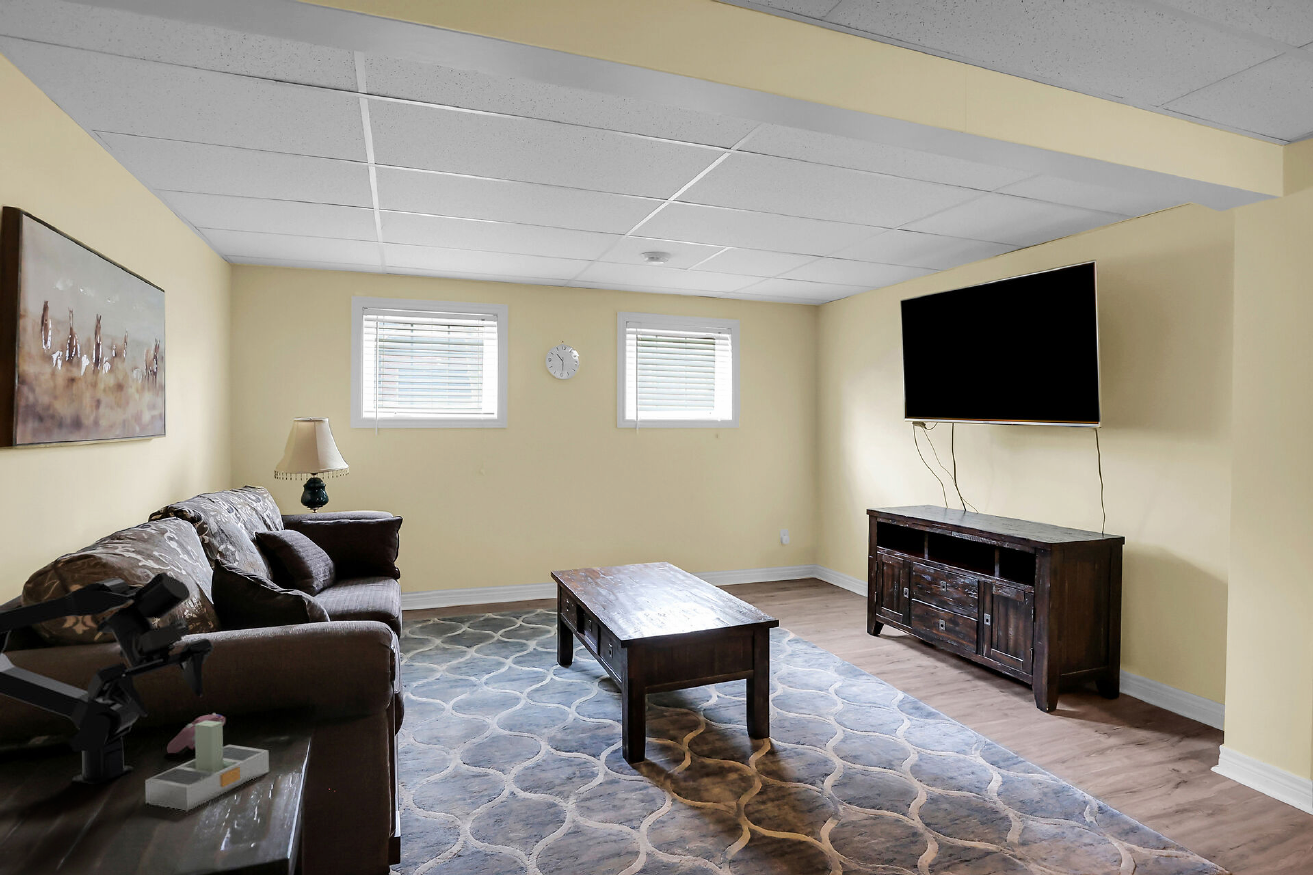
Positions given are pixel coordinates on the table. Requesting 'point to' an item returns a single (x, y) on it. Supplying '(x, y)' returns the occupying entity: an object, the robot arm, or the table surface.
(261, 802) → the table surface
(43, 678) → the robot arm
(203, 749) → the pale green rectangular block
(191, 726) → the video game controller
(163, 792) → the rack
